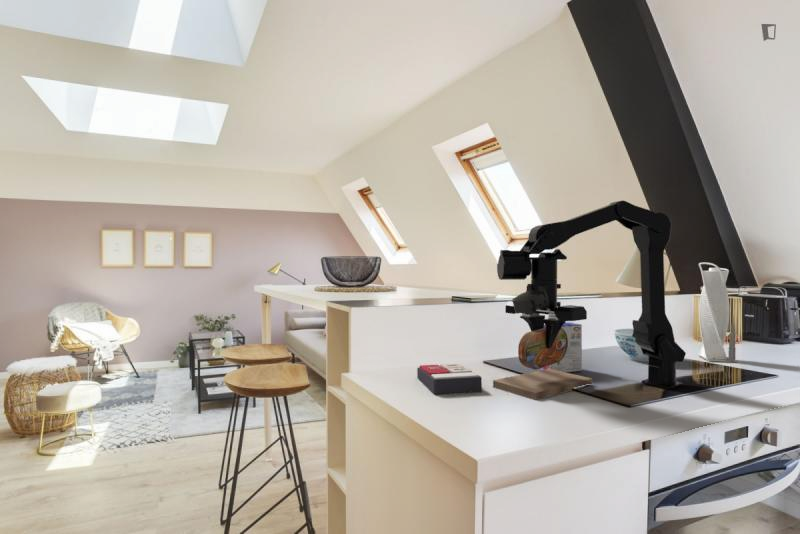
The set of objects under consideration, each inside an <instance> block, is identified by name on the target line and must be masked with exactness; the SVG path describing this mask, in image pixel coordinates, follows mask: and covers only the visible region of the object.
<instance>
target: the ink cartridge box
mask: <svg viewBox="0 0 800 534" xmlns="http://www.w3.org/2000/svg"><path fill="white" fill-rule="evenodd" d="M545 327H546V325H545V323H544V328H545ZM582 327H583V325H582V324H580V323H575V322H572V321H565V323H564V324H563V326H562V329H563V330H564V331H565V332H566V334H567V338H568V346H567V351H566V354H565V356H564V357H563V359H562V360H561V361H560V362H558V363H555V364H552V365H549V366H546V367H543V368H540V369H539V371H540V370H545V369H553V370H557V371H561V372H566V373H572V372H573V373H574V372H582V371H583V368H582V367H583V363H582V362H583V360H582V359H583V356H582V355H583V354H582V353H583V348H582V347H583V344H582V343H583V342H582V341H583V339H582V338H583V337H582V336H583V335H582V329H583V328H582Z"/></svg>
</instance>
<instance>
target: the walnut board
mask: <svg viewBox="0 0 800 534" xmlns="http://www.w3.org/2000/svg"><path fill="white" fill-rule="evenodd" d="M586 384H592V385H593V379H592V378H591V377H587V376H582V375H577V374H572V373H571V372H561V371H557V370H553V369H545V370H540V369H539V370H535V371H532V372H526V373H522V374H518V375H513V376H508V377H504V378H499V379H493V380H492V388H495V389H498V390H502V391H506V392H508V393H512V394H514V395H518V396H522V397H525V398H528V399H530V400H533V401H537V400H540V399H544V398H545V399H546V398H549V397H552V396H556V395H559V394H563V393H567V392H571V391H573V390H572V389H573V388H574V387H578V386H582V385H586Z"/></svg>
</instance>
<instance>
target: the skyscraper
mask: <svg viewBox="0 0 800 534" xmlns="http://www.w3.org/2000/svg"><path fill="white" fill-rule="evenodd" d="M702 265H708V266H713V267H709V268H708V270H703V267H702ZM698 267H699V269H700V273H701V277H702V283H703V286H702V289H701V294H700V296H699V298H700V299H699V304H698V305H699V308H698V320H699V331H700V337H701V341H702V347H701V349H700V351H699V354H698V357H699V358H700V359H702V360H705V361H707V362H710V363H725V364H726V363H727V364H729V363H730V364H737V363H738V360H736V332H735V323H734V317H733V316H732V317H731V323H730V311H731V310H730V308H731V307H730V306H731V305H730V298H729V297H730V296H729V294H728V289H727V285H726V283H727V280H728V276H729V273H730V270H729V269H728V268H724V267H723V268H722V267H719V266H718V265H717V264H715V263H712V262H707V261H706V262H699V263H698ZM729 323H730V332H729V338H728V339H729V340H728V342H729V343H728V346H729V347H728V357H727V354H726V351H725V348H724V344H725V340H726V337H727V332H728V330H729V329H728V327H729Z"/></svg>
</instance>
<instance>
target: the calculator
mask: <svg viewBox="0 0 800 534" xmlns="http://www.w3.org/2000/svg"><path fill="white" fill-rule="evenodd" d="M416 369H417V371H416V373H417V375H416V377H417V380H418V381H420V382H421V384H422V385H424V386H425V387H426V388H428V390H429V392H431V394H432V395H434V396H443V395H459V394H476V393H482V392H483V391H482V389H483V388H482V376H480V375H479V374H478V373H477V372H476V373H475V372H473V370H471V369H470V368H467V367H466V366H464V365H461V364H460V363H444V364H440V365H439V364H423V365H419V367H417V368H416Z"/></svg>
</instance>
